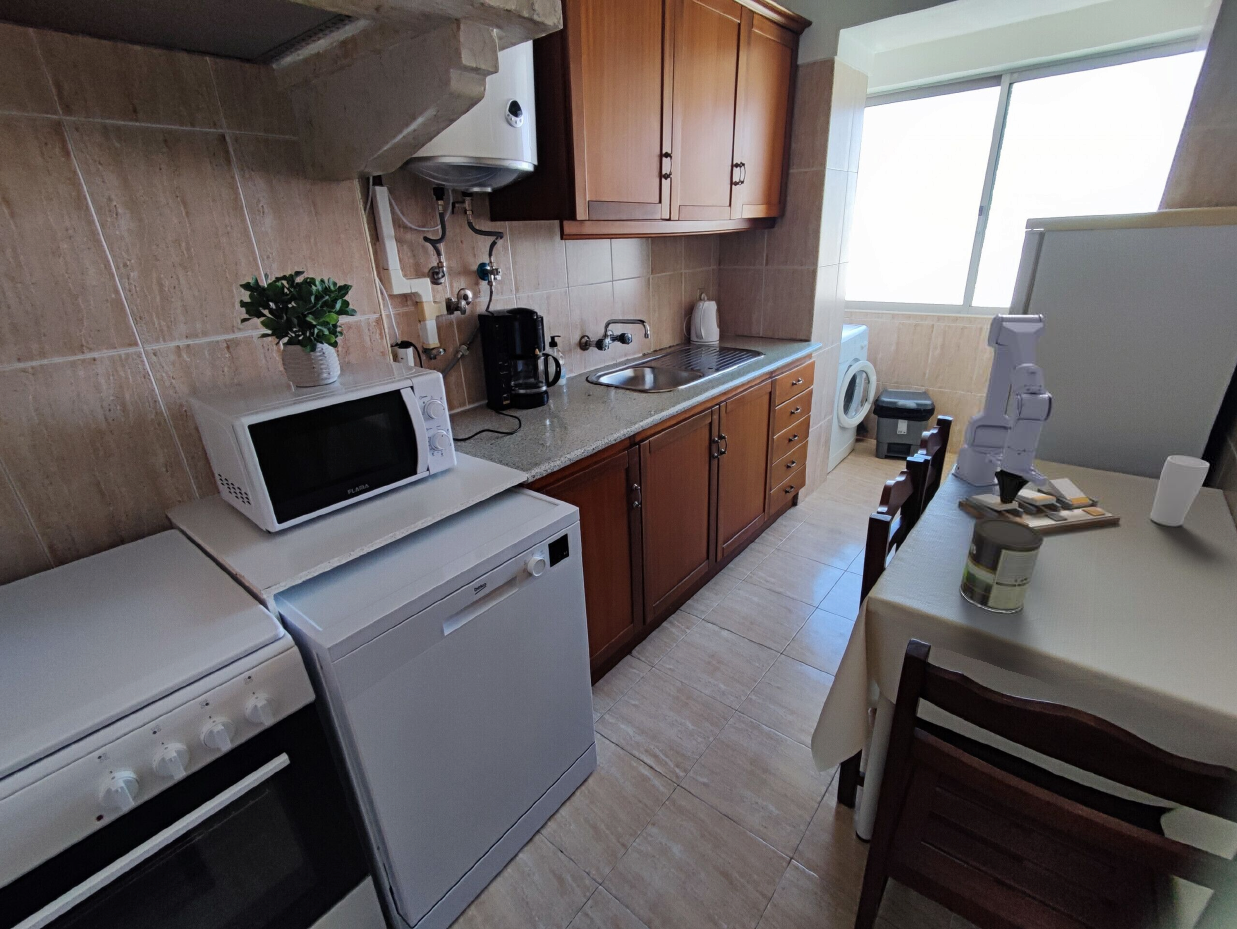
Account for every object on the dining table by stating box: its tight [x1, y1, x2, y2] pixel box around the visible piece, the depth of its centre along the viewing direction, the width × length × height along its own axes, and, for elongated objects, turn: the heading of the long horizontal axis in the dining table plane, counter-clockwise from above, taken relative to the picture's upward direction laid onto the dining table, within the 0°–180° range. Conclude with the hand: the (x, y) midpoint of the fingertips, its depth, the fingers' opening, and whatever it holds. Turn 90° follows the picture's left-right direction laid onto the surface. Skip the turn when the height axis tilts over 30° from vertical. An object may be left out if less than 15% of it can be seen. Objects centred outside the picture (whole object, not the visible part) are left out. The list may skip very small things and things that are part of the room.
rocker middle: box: [1016, 488, 1056, 505], centre depth 133 cm, size 8×5×1 cm, turn 10°
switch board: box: [957, 487, 1121, 535], centre depth 132 cm, size 16×28×3 cm, turn 100°
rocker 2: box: [1046, 477, 1092, 508], centre depth 134 cm, size 8×5×1 cm, turn 11°
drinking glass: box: [1149, 454, 1210, 527], centre depth 124 cm, size 7×7×15 cm
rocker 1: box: [971, 493, 1018, 510], centre depth 131 cm, size 8×5×1 cm, turn 10°
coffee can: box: [959, 518, 1044, 612], centre depth 102 cm, size 10×10×14 cm
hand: (1006, 502), depth 128 cm, fingers closed
